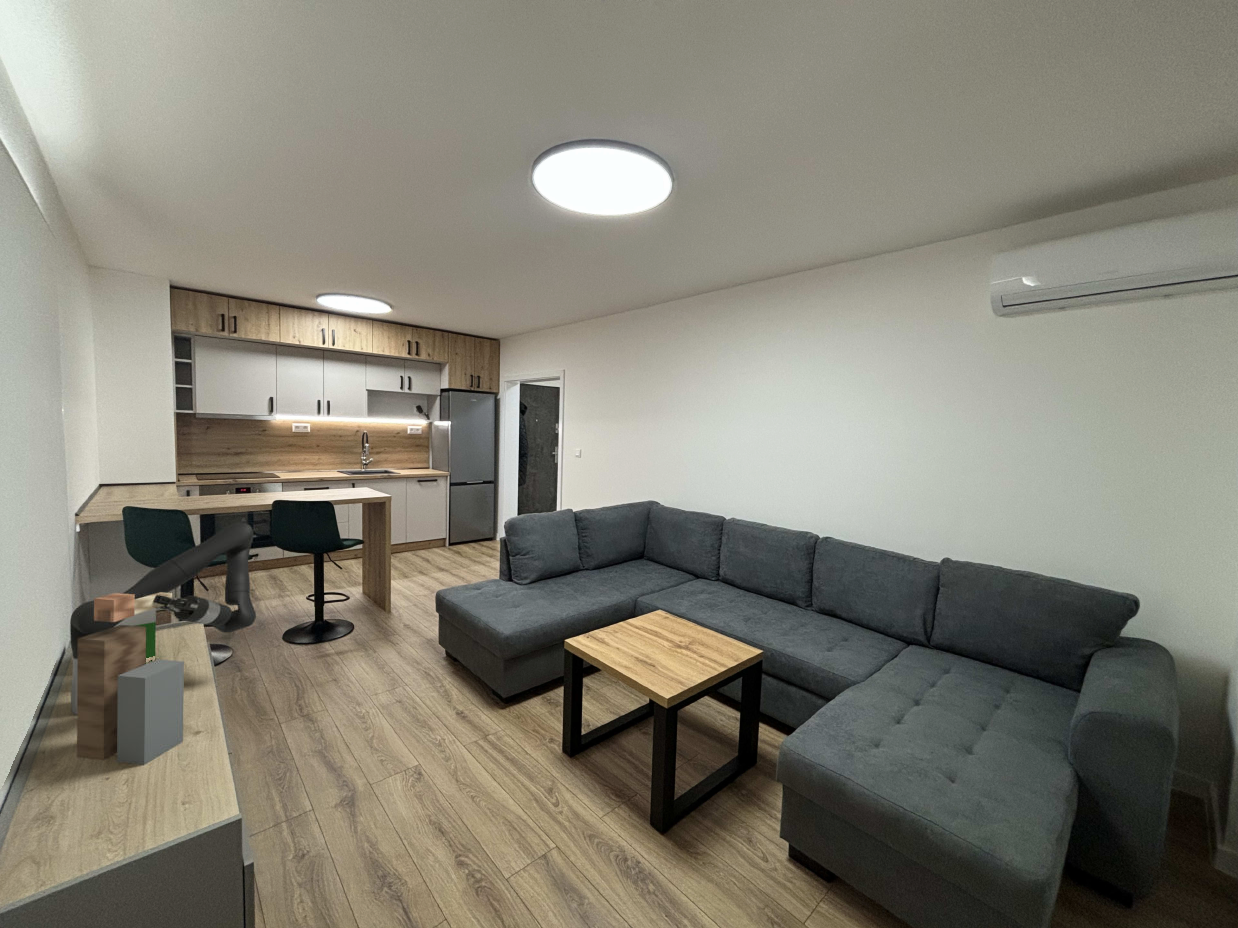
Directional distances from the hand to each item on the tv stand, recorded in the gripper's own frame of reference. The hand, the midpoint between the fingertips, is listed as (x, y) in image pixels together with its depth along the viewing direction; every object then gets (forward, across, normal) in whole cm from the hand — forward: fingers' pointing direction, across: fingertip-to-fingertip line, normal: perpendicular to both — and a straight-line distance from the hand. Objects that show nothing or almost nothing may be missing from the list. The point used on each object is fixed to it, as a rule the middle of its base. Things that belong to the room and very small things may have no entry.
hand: (148, 598), depth 139 cm
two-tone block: (+1, 0, +4) cm, 4 cm away
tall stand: (-11, 0, +38) cm, 40 cm away
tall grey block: (-12, +12, +38) cm, 42 cm away
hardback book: (-49, -52, +17) cm, 73 cm away
